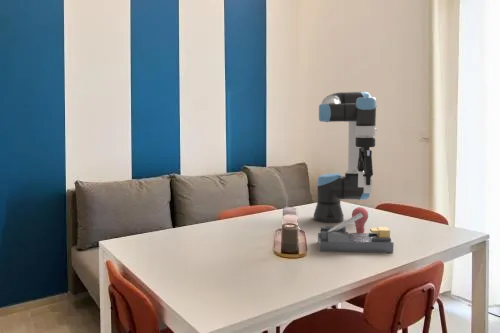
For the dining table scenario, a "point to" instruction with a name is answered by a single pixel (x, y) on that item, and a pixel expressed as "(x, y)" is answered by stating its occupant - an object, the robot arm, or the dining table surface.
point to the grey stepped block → (352, 241)
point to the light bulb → (361, 221)
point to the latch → (381, 232)
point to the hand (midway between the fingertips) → (364, 190)
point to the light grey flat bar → (346, 223)
